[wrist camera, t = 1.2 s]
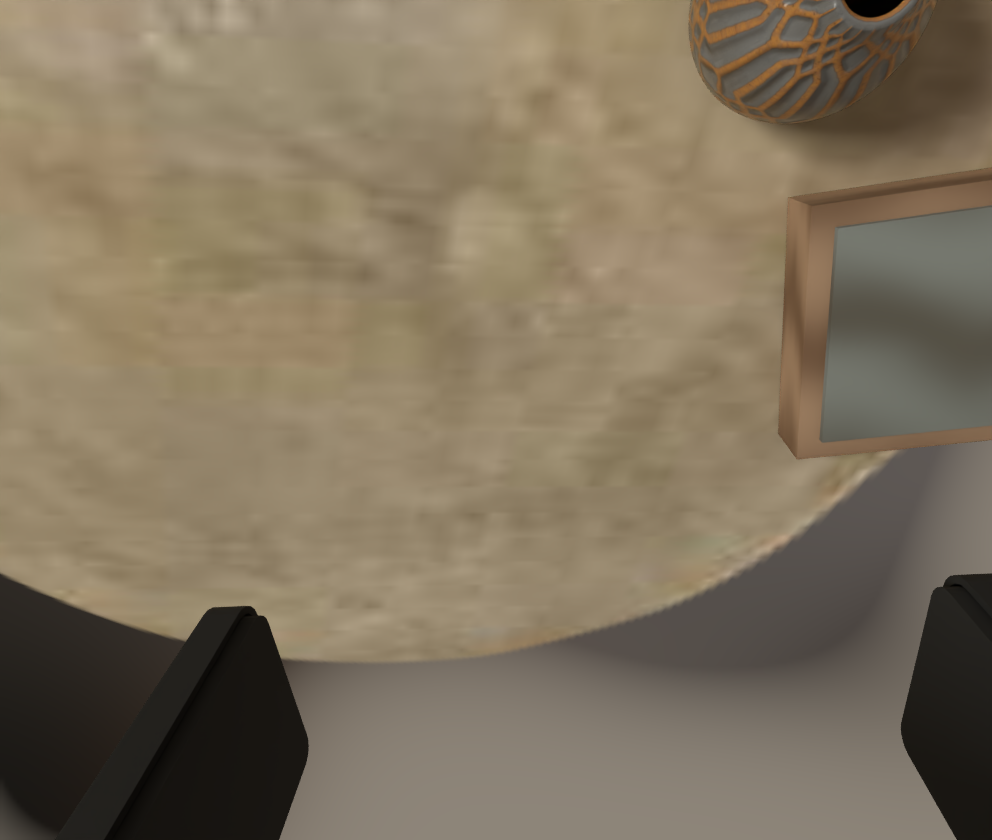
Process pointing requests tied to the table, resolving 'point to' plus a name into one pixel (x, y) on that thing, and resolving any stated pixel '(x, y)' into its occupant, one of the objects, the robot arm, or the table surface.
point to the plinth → (888, 317)
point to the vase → (801, 52)
